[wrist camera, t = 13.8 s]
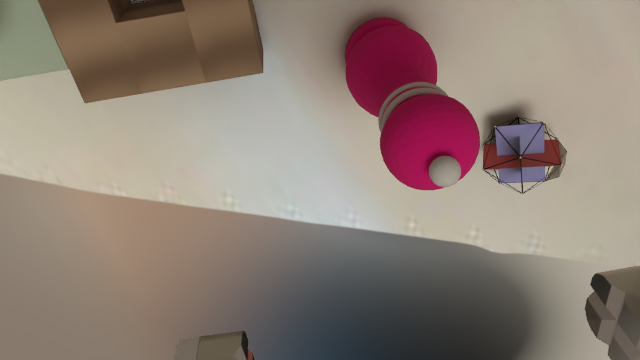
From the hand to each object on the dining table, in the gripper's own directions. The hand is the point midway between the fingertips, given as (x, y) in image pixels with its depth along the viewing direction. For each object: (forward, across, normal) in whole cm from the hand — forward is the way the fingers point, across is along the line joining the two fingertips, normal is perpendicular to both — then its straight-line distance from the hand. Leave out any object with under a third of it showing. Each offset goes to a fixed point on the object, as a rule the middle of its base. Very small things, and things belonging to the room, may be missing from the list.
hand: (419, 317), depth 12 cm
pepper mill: (+35, -5, +7) cm, 36 cm away
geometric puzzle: (+35, -17, +18) cm, 43 cm away
